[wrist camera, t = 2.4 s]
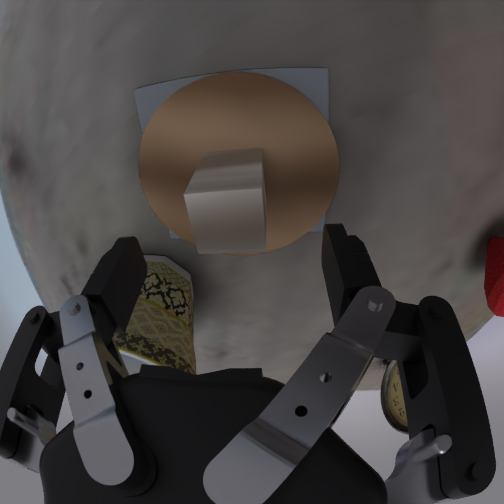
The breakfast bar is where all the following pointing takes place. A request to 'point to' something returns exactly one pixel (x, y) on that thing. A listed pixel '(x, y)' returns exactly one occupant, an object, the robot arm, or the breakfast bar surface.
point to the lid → (238, 164)
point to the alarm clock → (393, 398)
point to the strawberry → (495, 276)
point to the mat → (300, 78)
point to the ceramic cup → (161, 320)
